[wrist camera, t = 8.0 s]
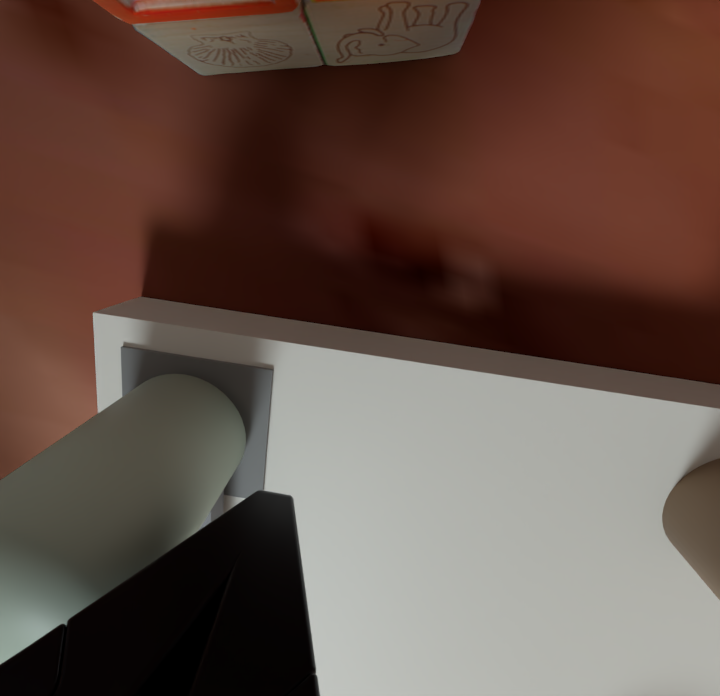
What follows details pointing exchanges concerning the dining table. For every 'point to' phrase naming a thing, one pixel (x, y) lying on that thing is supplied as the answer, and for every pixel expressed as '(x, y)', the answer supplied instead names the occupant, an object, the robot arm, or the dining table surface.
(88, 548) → the hinged leg
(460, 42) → the stack of blocks
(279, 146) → the dining table surface
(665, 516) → the stool seat
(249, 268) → the dining table surface
